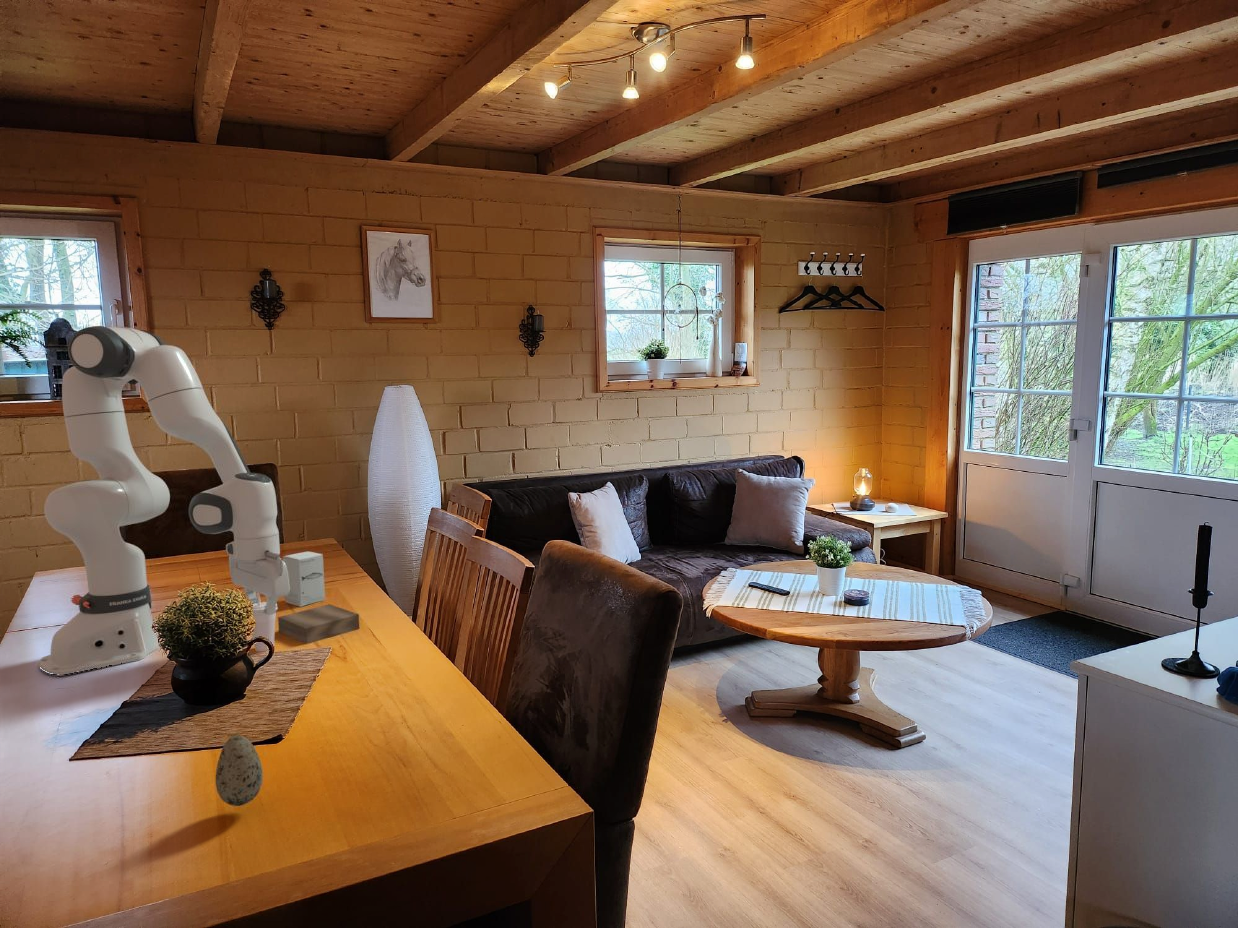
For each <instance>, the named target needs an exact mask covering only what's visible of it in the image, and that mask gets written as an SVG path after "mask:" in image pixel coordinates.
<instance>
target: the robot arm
mask: <svg viewBox="0 0 1238 928" xmlns="http://www.w3.org/2000/svg"><path fill="white" fill-rule="evenodd" d="M67 352H68V353H67V354H68V358H69V360H70V362H71V364H72V365H73V366H71V367H70V368H67V369H66V371H65V372H64V373H63V376H62V383H61V386H62V387H61V396H62V410H63V416H64V423H65V428H66V434H67V439H68V446H69V450H70V452H71V454H72V455H73V456H74V457H75V458H77V459H78V460H81V461H84V462H85V463H88V464H89V465H91V466H92V467H93V468H94V470H95V471H96V472H97V474H98V477H99V478H98V479H91V480H84V481H76V482H72V483H70V484H67V485H64V486H62V487H59V488H56V489H53V490H52V491H50V493H49V494H48V495H47V497H46V500H45V503H44V506H43V507H44V508H43V509H44V510H43V511H44V516H45V520H46V522H47V523H48V525H49V526H50V527H51V528H52V529H53V530H54V531H56V532H57V533H60V534H62V535H64V536H65V537H66V538H69V540H71V542H73V543H74V545H75V546H76V547H77V549H78V550H79V552H80V554H81V556H82V559H83V562H84V567H85V574H86V579H87V588H88V592H87V593H86V594H84V595H83V596H82V595H80V594H75V595H73V596H72V597H71V598H70V599H71V600H70V602H71V603H72V604H73V605H75V606H78V609H79V612H78V613H76V615H75V616H74V617H72V618H71V619H70V620H69V621H68V622H66V623H65V624H64V625H63V626H62V627H61V628H59V629H58V630H57V631H56V632H55V633H54V635H53V636H52V639H51V644H50V654H48V655H46V656H43V657H42V658H41V659H39V662H38V666H39V665H40V667H41V668H42V669H43V670H45V671H47V672H49V673H53V674H59V675H58V676H63V675H62V674H67V673H73V674H75V673H74V672H77V671H83V670H88V671H91V670H90V669H92V668H97V669H102V668H107V667H110V666H109V665H112V666H116V665H117V666H118V665H120V664H121V663H122V664H125V663H126V664H127V663H131V662H136V661H141V660H144V659H145V658H146V657H147V656H148V655H149V654H150V653H153V652H154V651H156V650H158V649H159V648H160V647H159V646H158V639H159V637H158V638H157V637H156V634H157V633H156V634H155V633H154V632H153V631H152V628H151V627H152V624H154V621H153V617H152V611H151V609H152V601H153V600H152V593H151V592H152V591H151V588H150V587H151V586H150V584H148V581H147V578H148V577H147V568H146V556H145V554H144V551H143V550H142V549H141V548H139V547H138V546H136V545H134V544H131V543H129V542H126V541H124V538H123V537H122V534H121V530H120V527H125V526H128V525H129V526H130V525H132V524H133V525H134V524H140V523H143V522H147V521H149V520H151V519H154V518H156V517H158V516H160V515H162V514H163V513H165V512H166V510H167V509H168V508H169V504H170V500H171V499H170V498H171V494H170V489H169V487H168V485H167V484H166V482H165V481H164V480H163V479H162V478H161V477H159V476H158V475H156V474H154V473H152V472H151V471H150V470H148V469H147V467H145V466H144V464H143V462H141V460H140V458H139V457H138V455H137V454H136V452H135V449H134V447H133V445H132V442H131V438H130V434H129V433H130V432H129V429H128V428H129V427H128V423H127V418H126V414H125V408H124V402H123V396H122V395H123V394H122V391H123V388H124V387H125V385H126V384H130V385H137V384H139V385H140V386H141V389H142V391H143V393H144V396H145V399H146V402H147V405H148V408H149V411H150V413H151V416H152V418H153V419H154V422H155V423H156V424H157V426H158V427H159V429H160V430H161V431H162V432H164V433H166V434H167V435H169V436H171V437H174V438H176V439H179V440H184V441H186V442H190V443H192V444H194V445H196V446H198V447H200V448H201V449H202V450H203V451H205V453H206V454H207V455H208V456H209V458H210V460H211V462H212V463H213V464H212V465H213V466H214V468H215V470H216V472H217V473H218V476H219V477H220V479H221V482H222V484H220V485H218V486H216V487H213V488H209V489H207V490H204V491H201V492H198V493H197V494H195V495H194V496H193V497H192V498H191V500H190V503H189V506H188V517H189V520H190V523H191V524H192V525H193V527H194V528H195V529H196V530H197V531H199V532H201V533H202V534H205V535H206V534H207V535H216V534H217V535H218V534H222V533H224V532H229V531H230V532H232V534H233V541H231V542H229V543H227V544H225V551H226V554H228V565H229V573H230V578H231V581H232V583H233V584H234V585H236V586H239V587H242V588H243V592H244V595H245V597H246V599H247V598H248V599H249V600H250V601H251V602H252V604H254V603H258V600H257V592H258V593H260V595H263V596H265V600H266V602H267V603H266V606H264V609H265V613H266V614H269V615H271V614H275V613H276V614H277V610H276V603H277V602H278V601H279V598H282V597H285V596H287V595H288V594H289V591H290V585H289V577H288V571H287V566H286V564H285V562H284V561H283V559H282V558H281V557H280V554H281V549H280V548H281V547H280V545H281V544H280V532H279V528H278V526H277V516H278V505H277V495H276V489H275V486H274V483H273V481H272V479H271V478H270V476H267V475H266V474H263V473H258V472H257V473H256V472H251V471H250V469H249V467H248V465H247V462H246V461H245V459H244V456H243V455H242V453H241V450H240V449H239V447H238V444H237V443H236V441H235V438H234V437H233V435H232V433H231V431H230V429H229V428H228V426H227V424H225V422H224V421H223V420H222V419H221V418H220V417H219V416H218V415H217V413H216V411H215V410H214V408H213V406H212V405H211V404H210V401H209V399H208V397H207V394H206V392H205V390H204V387H203V384H202V382H201V379H200V378H199V375H198V373H197V371H196V370H195V367H194V366H193V364H192V362H191V360H190V359H189V357H188V355H187V354H186V352H185V351H184V350H183V349H182V348H179V347H177V346H175V345H170V344H169V345H168V344H166V343H165V341H164V340H163V338H161V337H159V336H158V335H156V334H154V333H152V332H150V331H147V330H143V329H136V328H131V327H127V326H105V325H104V326H103V325H94V326H87V327H83V328H81V329H79V330H77V331H75V333H74V334H73V335H72V336H71V337H70V340H69V343H68V345H67ZM248 599H247V600H248ZM277 604H278V603H277ZM122 664H121V665H122ZM106 666H107V667H106ZM101 667H102V668H101ZM83 672H84V671H83Z"/></svg>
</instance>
